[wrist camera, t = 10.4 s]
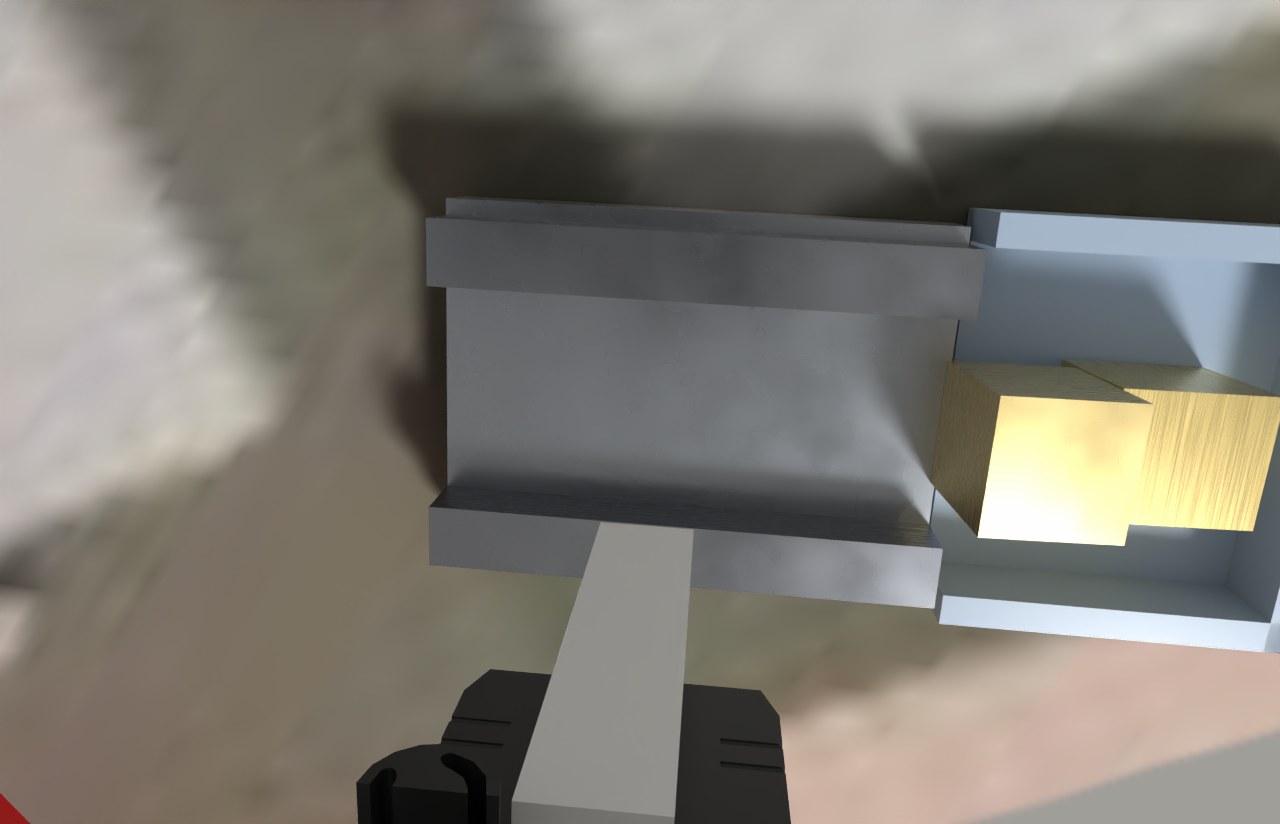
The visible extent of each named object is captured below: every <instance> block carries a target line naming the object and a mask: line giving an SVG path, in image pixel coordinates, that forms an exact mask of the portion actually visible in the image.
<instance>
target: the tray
mask: <svg viewBox="0 0 1280 824" xmlns="http://www.w3.org/2000/svg"><path fill="white" fill-rule="evenodd" d="M967 226H969V227H971V233H970V240H969V244H970V245H974V246H977V247H980V248H984V249H987V255H986V262H985V269H984V276H983V283H982V289H981V296H980V303H979V310H978V316H977V321H972V320H958V324H957V331H956V338H955V345H954V352H953V359H952V361H968V362H986V363H1003V364H1021V365H1039V366H1056V367H1061V363H1062V359H1068V360H1086V361H1104V362H1121V363H1139V364H1157V365H1175V366H1192V367H1204V368H1206V369H1209V370H1212V371H1215V372H1217V373H1220V374H1223V375H1225V376H1228V377H1231V378H1234V379H1236V380H1239V381H1242V382H1245V383H1247V384H1250V385H1253V386H1255V387H1258V388H1261V389H1264V390H1266V391H1269V392H1272V393H1275V394H1277V395H1280V224H1267V223H1248V222H1229V221H1211V220H1192V219H1174V218H1155V217H1136V216H1118V215H1099V214H1080V213H1062V212H1043V211H1025V210H1006V209H987V208H969V213H968V221H967ZM929 525H930V527H931V529H932V530H933V532H934V534H935V536H936V537H937V539H938V541H939V543H940V544H941V546H942V548H943V553H942V560H941V567H940V573H939V580H938V587H937V594H936V600H935V607H934V608H932V610H933V612H934V614H935V616H936V618H937V620H938V622H939V624H949V625H960V626H971V627H983V628H994V629H1006V630H1017V631H1028V632H1040V633H1051V634H1063V635H1074V636H1085V637H1097V638H1108V639H1119V640H1131V641H1142V642H1154V643H1165V644H1176V645H1188V646H1199V647H1211V648H1222V649H1233V650H1245V651H1256V652H1268V653H1279V654H1280V423H1279V427H1278V431H1277V435H1276V439H1275V443H1274V447H1273V451H1272V455H1271V459H1270V463H1269V467H1268V472H1267V476H1266V480H1265V484H1264V488H1263V492H1262V496H1261V500H1260V504H1259V508H1258V512H1257V516H1256V520H1255V524H1254V528H1253V531H1239V530H1222V529H1204V528H1187V527H1169V526H1152V525H1134V524H1129V526H1128V531H1127V535H1126V540H1125V545H1124V546H1119V545H1102V544H1084V543H1067V542H1049V541H1032V540H1014V539H997V538H979V537H977V536H976V535H975V533H974V532H973V531H972V530H971V529H970V528H969V527H968V525H967V524H966V523H965V522H964V521H963V520H962V518H961V517H960V516H959V515H958V514H957V513H956V512H955V510H954V509H953V508H952V507H951V506H950V505H949V503H948V502H947V501H946V500H945V499H944V498H943V496H942V495H941V494H940V493H939V492H938V491H937V490H936V488H935V487H934V493H933V500H932V507H931V514H930V521H929Z"/></svg>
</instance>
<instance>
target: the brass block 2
mask: <svg viewBox="0 0 1280 824" xmlns="http://www.w3.org/2000/svg"><path fill="white" fill-rule="evenodd" d="M1061 367H1074V368H1079V369H1081V370H1083V371H1085V372H1087V373H1089V374H1091V375H1094V376H1096V377H1098V378H1100V379H1102V380H1104V381H1106V382H1108V383H1110V384H1112V385H1114V386H1117V387H1119V388H1121V389H1123V390H1125V391H1127V392H1129V393H1131V394H1133V395H1135V396H1137V397H1140V398H1142V399H1144V400H1146V401H1148V402H1150V403H1152V404H1154V406H1153V410H1152V415H1151V420H1150V425H1149V430H1148V435H1147V439H1146V444H1145V449H1144V454H1143V459H1142V463H1141V468H1140V473H1139V478H1138V483H1137V487H1136V492H1135V497H1134V502H1133V507H1132V511H1131V516H1130V521H1129V524H1134V525H1152V526H1169V527H1187V528H1204V529H1222V530H1239V531H1253V528H1254V524H1255V520H1256V516H1257V512H1258V508H1259V504H1260V500H1261V496H1262V492H1263V488H1264V484H1265V480H1266V476H1267V472H1268V467H1269V463H1270V459H1271V455H1272V451H1273V447H1274V443H1275V439H1276V435H1277V431H1278V427H1279V423H1280V395H1277V394H1275V393H1272V392H1269V391H1266V390H1264V389H1261V388H1258V387H1255V386H1253V385H1250V384H1247V383H1245V382H1242V381H1239V380H1236V379H1234V378H1231V377H1228V376H1225V375H1223V374H1220V373H1217V372H1215V371H1212V370H1209V369H1206V368H1204V367H1192V366H1175V365H1157V364H1139V363H1121V362H1104V361H1086V360H1068V359H1062V363H1061Z"/></svg>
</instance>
